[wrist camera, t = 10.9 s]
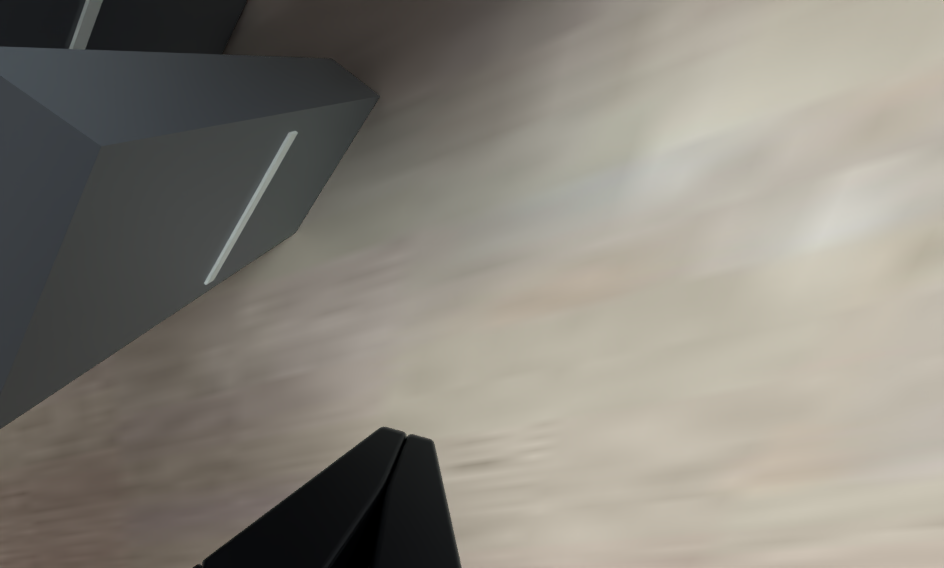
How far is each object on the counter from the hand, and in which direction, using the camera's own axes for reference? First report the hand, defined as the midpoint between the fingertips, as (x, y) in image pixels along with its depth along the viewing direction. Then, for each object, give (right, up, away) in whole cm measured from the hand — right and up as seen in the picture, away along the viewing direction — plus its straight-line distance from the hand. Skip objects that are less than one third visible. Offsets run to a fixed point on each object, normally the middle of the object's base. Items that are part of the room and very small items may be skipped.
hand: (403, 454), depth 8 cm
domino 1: (-4, +7, +7) cm, 10 cm away
